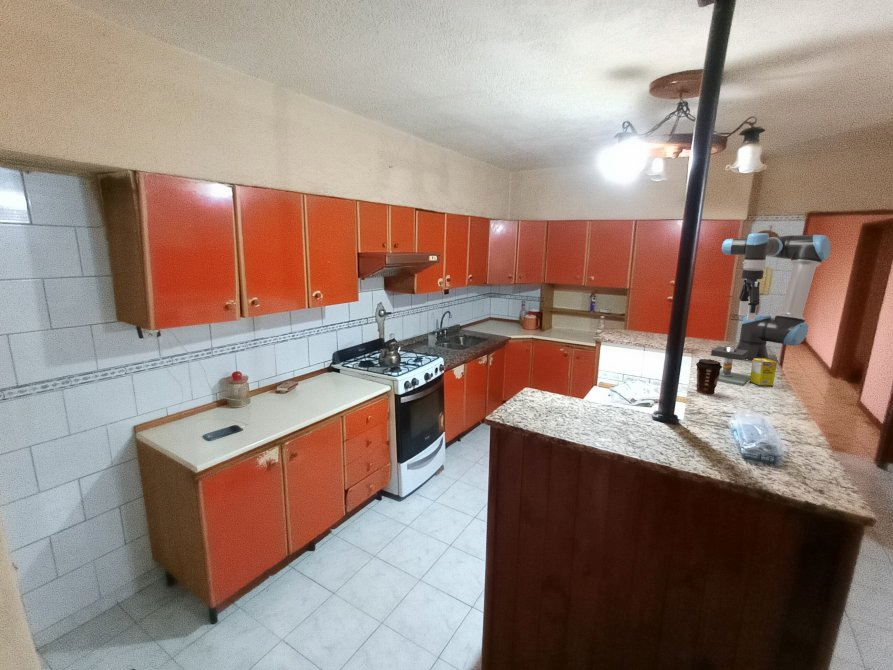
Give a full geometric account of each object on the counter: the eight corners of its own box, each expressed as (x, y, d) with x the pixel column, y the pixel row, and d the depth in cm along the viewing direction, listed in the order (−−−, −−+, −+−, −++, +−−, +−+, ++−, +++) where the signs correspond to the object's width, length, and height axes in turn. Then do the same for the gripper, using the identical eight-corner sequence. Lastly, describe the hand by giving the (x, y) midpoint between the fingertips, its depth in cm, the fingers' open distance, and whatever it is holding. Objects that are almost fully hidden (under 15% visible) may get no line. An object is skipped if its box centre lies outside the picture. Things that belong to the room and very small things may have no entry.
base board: (710, 370, 198) (710, 368, 198) (751, 378, 187) (751, 375, 187) (700, 377, 187) (700, 375, 187) (743, 386, 176) (743, 383, 176)
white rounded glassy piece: (721, 373, 190) (725, 345, 187) (733, 375, 187) (737, 347, 184) (719, 375, 187) (723, 347, 184) (730, 377, 184) (735, 349, 181)
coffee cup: (711, 389, 171) (716, 358, 169) (722, 396, 163) (727, 364, 161) (689, 388, 172) (693, 357, 169) (699, 395, 164) (703, 363, 161)
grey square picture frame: (717, 351, 193) (718, 346, 193) (747, 356, 185) (748, 350, 185) (710, 355, 185) (711, 350, 185) (741, 360, 177) (742, 354, 177)
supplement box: (773, 387, 175) (777, 362, 173) (758, 387, 175) (762, 361, 173) (762, 382, 181) (767, 358, 179) (748, 382, 181) (752, 358, 179)
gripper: (735, 268, 196) (729, 313, 200) (751, 271, 173) (744, 321, 177) (754, 268, 193) (748, 314, 197) (773, 271, 170) (765, 323, 175)
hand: (746, 317), depth 187 cm, fingers open, 13 cm apart
